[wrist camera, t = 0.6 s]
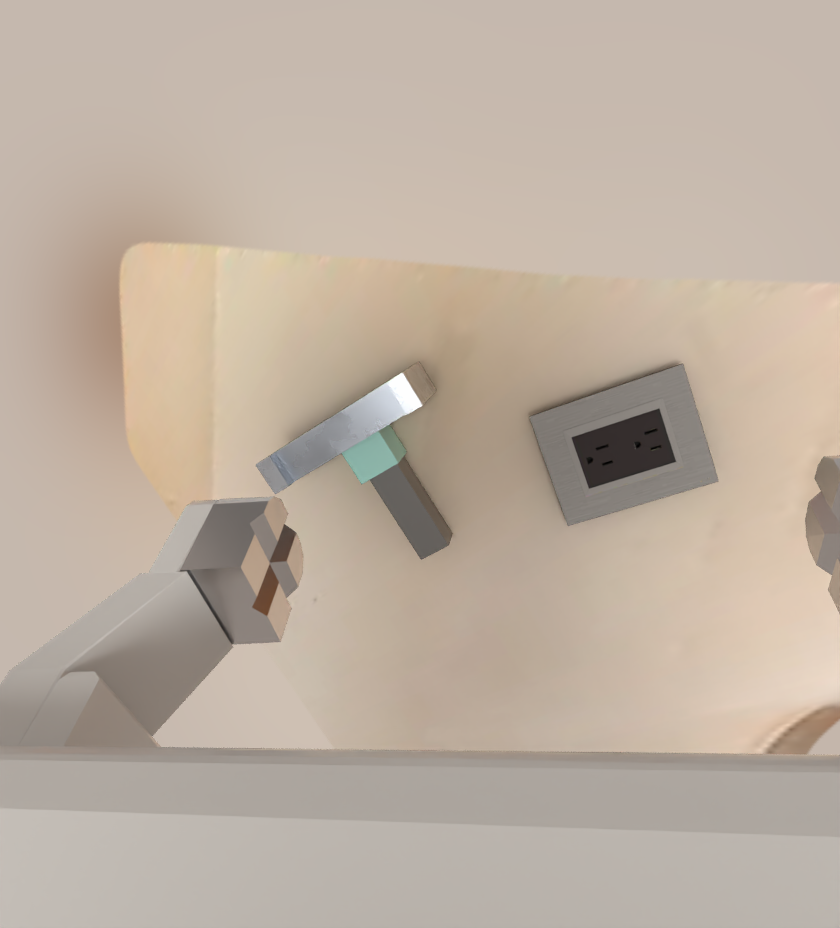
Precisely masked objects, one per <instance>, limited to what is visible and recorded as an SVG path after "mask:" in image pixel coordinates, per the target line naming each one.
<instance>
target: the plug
mask: <svg viewBox="0 0 840 928" xmlns="http://www.w3.org/2000/svg"><path fill="white" fill-rule="evenodd" d="M406 452H407V451H406V450H405V448H404V447H403V445H402V443H401V442H400V440H399V439H398V437H397V435H396V434H395V432H394V431H393V429H392V428H391V426H390V424H389V425H387V426H386V427H384V428H382V429H381V430H379V431H377V432H376V433H374V434H372V435H371V436H369V437H367V438H366V439H364V440H362V441H361V442H359V443H357V444H356V445H354V446H352V447H351V448H349V449H348V450H346V451H344V452H343V453H342V455H343V456H344V458H345V459H346V461H347V462H348V464H349V466H350V467H351V469H352V470H353V472H354V473H355V475H356V476H357V478H358V479H359V481H360V483H361V484H363V483H365V482H367V481H368V480H370V481H371V483H372V484H373V486H374V487H375V489H376V490H377V492H378V494H379V495H380V497H381V498H382V500H383V501H384V503H385V504H386V506H387V507H388V509H389V511H390V512H391V514H392V515H393V517H394V518H395V520H396V521H397V523H398V525H399V526H400V528H401V529H402V531H403V532H404V534H405V535H406V537H407V539H408V540H409V542H410V543H411V545H412V546H413V548H414V549H415V551H416V552H417V554H418V556H419V557H420V559H421V560H422V559H424V558H426V557H427V556H429V555H431V554H433V553H435V552H437V551H439V550H441V549H443V548H445V547H447V546H448V545H449V543H450V540H451V536H452V532H451V531H450V529H449V527H448V526H447V524H446V523H445V521H444V519H443V518H442V516H441V515H440V513H439V512H438V510H437V508H436V507H435V505H434V504H433V502H432V500H431V499H430V497H429V496H428V494H427V493H426V491H425V489H424V488H423V486H422V485H421V483H420V481H419V480H418V478H417V477H416V475H415V474H414V472H413V470H412V469H411V467H410V466H409V464H408V462H407V461H406V459H405V458H404V455H405V454H406Z"/></svg>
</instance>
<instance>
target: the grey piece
mask: <svg viewBox="0 0 840 928" xmlns="http://www.w3.org/2000/svg"><path fill="white" fill-rule="evenodd" d="M435 391H436V388H435V386H434V385H433V383H432V382H431V380H430V378H429V377H428V375H427V373H426V372H425V370H424V368H423V367H422V365H421V364H420V362H417V363H416V364H414V365H413V366H411V367H409V368H408V369H406V370H405V371H403V372H401V373H400V374H398V375H397V376H395V377H394V378H392V379H390V380H389V381H387V382H386V383H384V384H382V385H381V386H379V387H378V388H376V389H374V390H373V391H371V392H370V393H368V394H367V395H365V396H364V397H362V398H361V399H359V400H358V401H356V402H354V403H353V404H351V405H350V406H348V407H346V408H345V409H343V410H342V411H340V412H338V413H337V414H335V415H334V416H332V417H330V418H329V419H326V420H325V421H323V422H322V423H320V424H318V425H317V426H315V427H314V428H312V429H310V430H309V431H307V432H306V433H304V434H303V435H301V436H299V437H298V438H296V439H295V440H293V441H291V442H290V443H288V444H287V445H285V446H284V447H282V448H280V449H279V450H277V451H276V452H274V453H273V454H271V455H270V456H268V457H267V458H265V459H263V460H262V461H260V462H259V463H257V464H256V467H257V468H258V470H259V471H260V473H261V474H262V475H263V477H264V478H265V480H266V481H267V483H268V484H269V486H270V487H271V489H272V490H273V492H274V493H275V494H277V493H278V492H280V491H282V490H283V489H285V488H287V487H288V486H290V485H291V484H292V483H293V482H295V481H296V480H298V479H300V478H301V477H303V476H304V475H306V474H308V473H309V472H311V471H313V470H314V469H316V468H318V467H319V466H321V465H323V464H324V463H326V462H328V461H329V460H331V459H333V458H334V457H336V456H338V455H339V454H341V453H343V452H344V451H346V450H348V449H349V448H351V447H352V446H354V445H356V444H357V443H359V442H361V441H362V440H364V439H366V438H367V437H369V436H371V435H372V434H374V433H376V432H377V431H379V430H381V429H382V428H384V427H386V426H387V425H389V424H391V423H392V422H394V421H396V420H397V419H399V418H401V417H402V416H404V415H405V414H407V415H408V414H409V413H411V412H413V411H414V410H416V409H418V408H419V407H421V406H423V404H424V403H425V402H426V401H427V400H428V399H429V398H430V397H431V396H432V395H433V393H434V392H435Z"/></svg>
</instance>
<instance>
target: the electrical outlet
mask: <svg viewBox="0 0 840 928" xmlns="http://www.w3.org/2000/svg"><path fill="white" fill-rule="evenodd" d="M529 418H530V421H531V424H532V426H533V429H534V432H535V435H536V438H537V440H538V443H539V446H540V449H541V452H542V454H543V457H544V460H545V463H546V466H547V469H548V471H549V474H550V477H551V480H552V483H553V485H554V488H555V491H556V494H557V497H558V499H559V502H560V505H561V508H562V511H563V514H564V516H565V519H566V522H567V525H568V526H570V525H573V524H576V523H580V522H583V521H587V520H590V519H593V518H597V517H600V516H603V515H607V514H610V513H614V512H617V511H620V510H624V509H627V508H630V507H634V506H637V505H641V504H644V503H647V502H651V501H654V500H657V499H661V498H664V497H667V496H671V495H674V494H678V493H681V492H684V491H688V490H691V489H694V488H698V487H701V486H705V485H708V484H711V483H715V482H718V477H717V474H716V471H715V467H714V464H713V461H712V457H711V454H710V451H709V448H708V444H707V441H706V438H705V434H704V431H703V428H702V425H701V421H700V418H699V415H698V411H697V408H696V405H695V401H694V398H693V395H692V392H691V388H690V385H689V382H688V378H687V375H686V372H685V369H684V365H683V364H680V365H677V366H674V367H671V368H668V369H666V370H663V371H660V372H657V373H654V374H651V375H648V376H645V377H642V378H639V379H637V380H634V381H631V382H628V383H625V384H622V385H619V386H616V387H613V388H610V389H608V390H605V391H602V392H599V393H596V394H593V395H590V396H587V397H584V398H581V399H579V400H576V401H573V402H570V403H567V404H564V405H561V406H558V407H555V408H553V409H550V410H547V411H544V412H541V413H538V414H535V415H532V416H529Z"/></svg>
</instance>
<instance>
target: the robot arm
mask: <svg viewBox="0 0 840 928" xmlns="http://www.w3.org/2000/svg"><path fill="white" fill-rule="evenodd" d="M815 480H816V482H817V484H818V486H819V488H820V490H821V492H820V493H819V494H817V495H816V496H815V497H814V498H813V499H812V500H810V501H809V503H808V508H807V513H806V518H805V522H806V538H807V542H808V545H809V549H810V552H811V554H812V556H813V559H814V561H815V563H816V565H817V566H819V567H820V568H822V569H823V570H825V571H826V572H828V573H829V574H831V575H832V578H831V581H830V584H829V588H828V591H829V593H830V595H831V597H832V599H833V601H834V603H835V605H836V607H837V609H838V611H839V613H840V455H839V456H826V457H823V458H822V460H821V461H820V463H819V464H818V467H817V471H816V475H815ZM287 515H288V512H287V510H286V508H285V506H284V504H283V502H282V500H281V499H279V498H277V497H254V498H234V499H220V500H204V501H193V502H191V503H190V504H188V505H187V506H186V507H185V509H184V510H183V512H182V514H181V516H180V518H179V519H178V521H177V523H176V525H175V527H174V528H173V530H172V532H171V534H170V535H169V537H168V539H167V541H166V543H165V544H164V546H163V548H162V550H161V552H160V553H159V555H158V557H157V559H156V560H155V562H154V564H153V566H152V568H151V569H150V571H149V573H143V574H139V575H138V576H136V577H135V578H133V579H132V580H131V581H129V582H128V583H127V584H125V585H124V586H123V587H121V588H120V589H119V590H117V591H116V592H115V593H113V594H112V595H111V596H109V597H108V598H107V599H105V600H104V601H103V602H101V603H100V604H98V605H97V606H96V607H95V608H93V609H92V610H90V611H89V612H88V613H86V614H85V615H84V616H82V617H81V618H80V619H78V620H77V621H76V622H74V623H73V624H72V625H70V626H69V627H68V628H66V629H65V630H63V631H62V632H61V633H59V634H58V635H57V636H55V637H54V638H53V639H51V640H50V641H49V642H47V643H46V644H45V645H43V646H42V647H41V648H39V649H38V650H37V651H35V652H34V653H33V654H31V655H30V656H29V657H27V658H26V659H24V660H23V661H22V662H20V663H19V664H18V665H16V666H15V667H14V668H12V669H11V670H10V671H9V672H8V674H7V675H6V677H5V679H4V680H3V681H2V683H1V684H0V928H840V755H805V754H714V753H621V752H528V751H440V750H356V749H272V748H266V749H265V748H178V747H177V748H175V747H161V746H160V745H159V744H158V743H157V742H156V741H155V740H154V738H153V737H152V736H153V735H154V734H155V733H156V732H157V730H158V729H159V728H160V727H161V726H162V725H163V724H164V723H165V722H166V720H167V719H168V718H169V717H170V716H171V715H172V714H173V713H174V712H175V710H176V709H177V708H178V707H179V706H180V705H181V704H182V703H183V702H184V701H185V700H186V698H187V697H188V696H189V695H190V694H191V693H192V692H193V691H194V690H195V688H196V687H197V686H198V685H199V684H200V683H201V682H202V681H203V680H204V679H205V678H206V676H207V675H208V674H209V673H210V672H211V671H212V670H213V669H214V668H215V666H216V665H217V664H218V663H219V662H220V661H221V660H222V659H223V658H224V656H225V655H226V654H227V653H228V652H229V651H230V650H231V649H232V648H233V646H232V644H250V643H269V642H281V639H282V636H283V633H284V630H285V627H286V624H287V621H288V618H289V615H290V612H291V606H290V604H289V602H288V600H287V597H288V596H289V595H290V594H291V593H292V592H293V591H294V590H296V589H297V588H298V587H299V583H300V580H301V576H302V573H303V552H302V547H301V543H300V540H299V538H298V535H297V533H296V532H295V531H293V530H292V529H291V528H289V527H288V526H286V525H285V524H284V523H285V521H286V518H287Z"/></svg>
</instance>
